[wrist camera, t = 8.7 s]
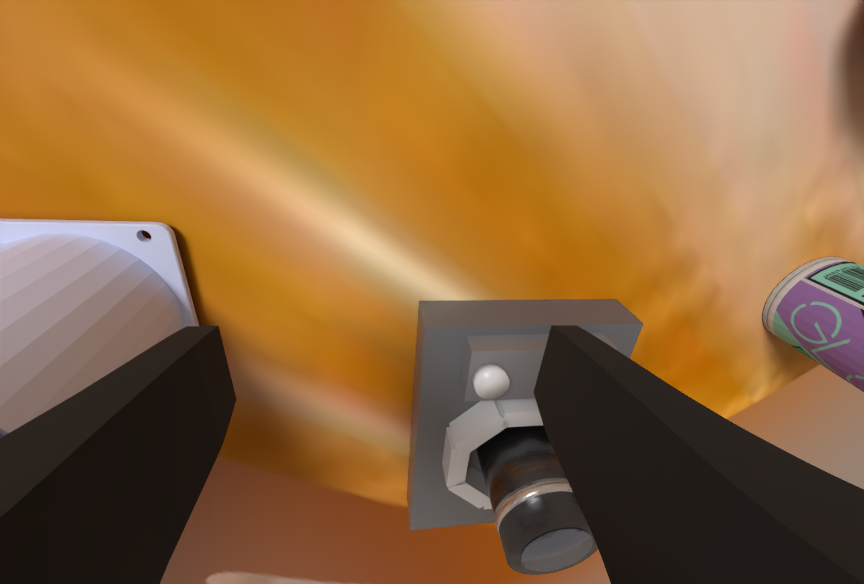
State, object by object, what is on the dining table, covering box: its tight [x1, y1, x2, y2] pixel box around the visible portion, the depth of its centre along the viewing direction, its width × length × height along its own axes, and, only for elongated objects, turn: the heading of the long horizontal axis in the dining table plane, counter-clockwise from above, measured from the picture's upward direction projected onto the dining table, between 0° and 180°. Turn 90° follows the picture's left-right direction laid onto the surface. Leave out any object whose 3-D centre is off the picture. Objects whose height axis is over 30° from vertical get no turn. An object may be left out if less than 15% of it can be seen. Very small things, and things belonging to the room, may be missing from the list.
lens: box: [476, 425, 598, 575], centre depth 19 cm, size 4×4×6 cm
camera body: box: [407, 299, 643, 530], centre depth 22 cm, size 11×16×4 cm
